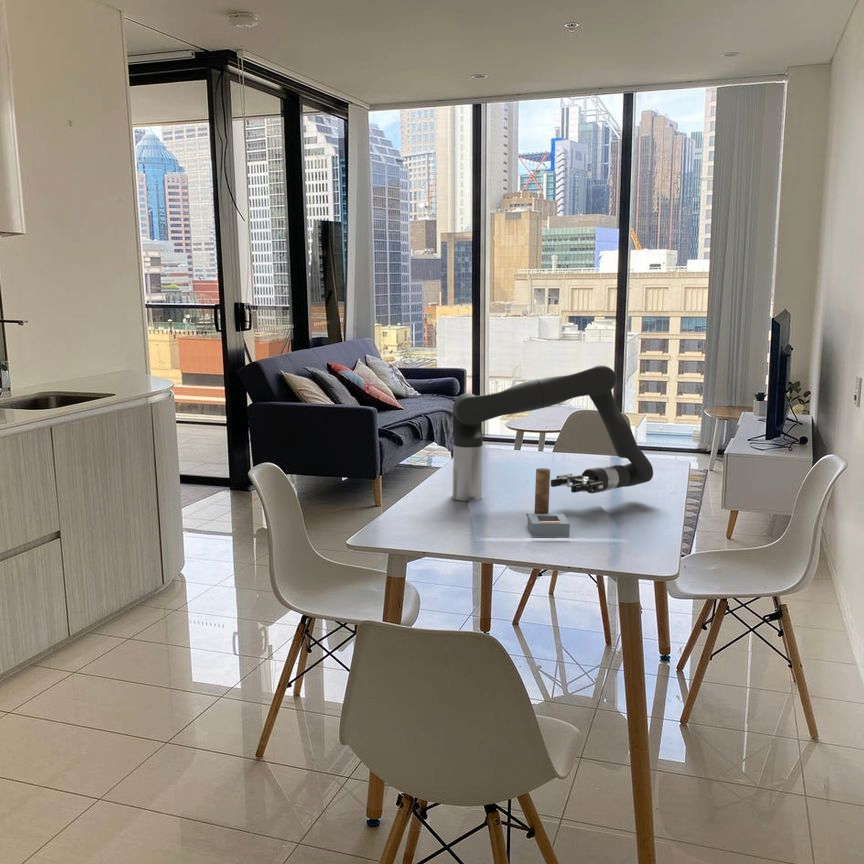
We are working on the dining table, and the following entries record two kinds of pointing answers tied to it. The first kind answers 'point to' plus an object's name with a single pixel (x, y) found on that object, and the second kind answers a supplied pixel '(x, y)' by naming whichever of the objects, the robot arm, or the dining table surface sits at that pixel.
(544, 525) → the socket block
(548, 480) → the walnut peg
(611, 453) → the dining table surface
